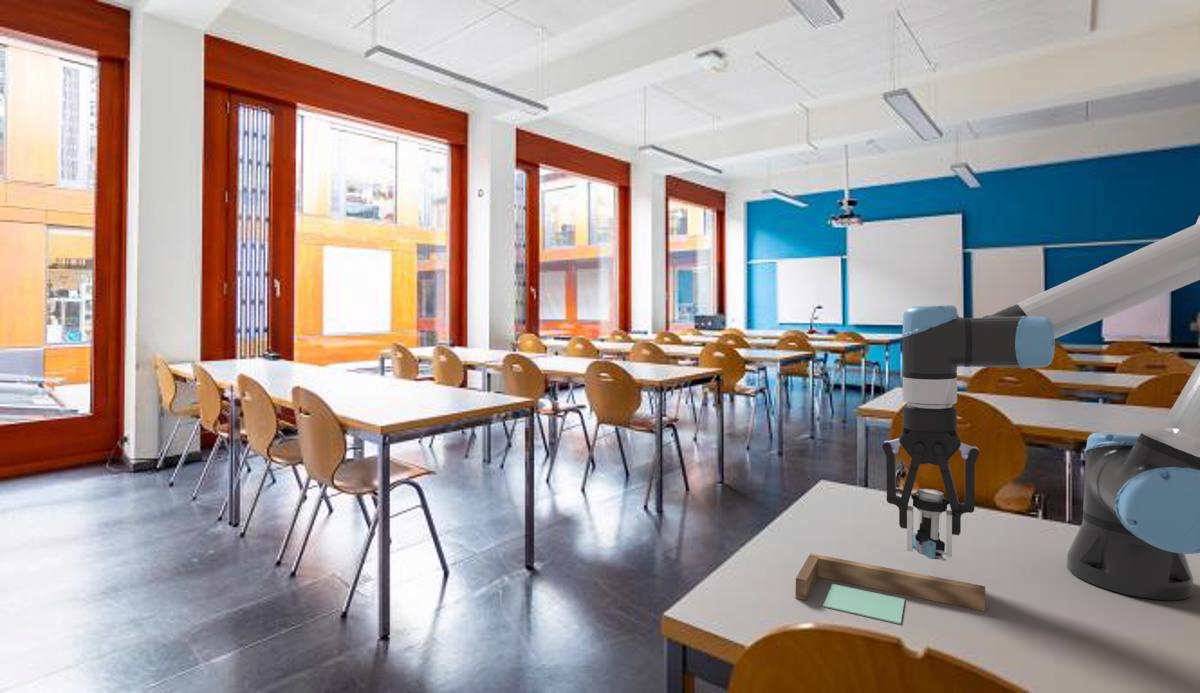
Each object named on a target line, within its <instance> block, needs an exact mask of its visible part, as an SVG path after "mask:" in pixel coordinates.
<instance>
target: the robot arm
mask: <svg viewBox="0 0 1200 693" xmlns="http://www.w3.org/2000/svg"><path fill="white" fill-rule="evenodd" d="M1197 281H1200V215H1198V218H1197V219H1196V223H1195V224H1193V225H1191V226H1189V227H1187V228H1184V229H1182V230H1180V231H1177V232H1176V233H1174V234H1171V235H1169V236H1166V237H1164V238H1161V239H1159V240H1157V241H1155V242H1153V243H1151V244H1148V245H1146V246H1144V247H1141V248H1139V249H1138V250H1135V251H1132V252H1130V253H1128V254H1126V255H1124V256H1121V257H1118V258H1116V259H1114V260H1113V261H1110V262H1107V263H1106V264H1103V265H1101V266H1099V267H1097V268H1094V269H1092V270H1090V271H1087V272H1085V273H1083V274H1080V275H1078V276H1076V277H1074V278H1072V279H1069V280H1067V281H1065V282H1063V283H1062V282H1061V283H1060V284H1058V285H1056V286H1054V287H1051V288H1049V289H1047V290H1044V291H1042V292H1040V293H1038V294H1036V295H1033V296H1031V297H1028V298H1026V299H1024V300H1022V301H1020V302H1018V303H1015V304H1013V305H1011V306H1009V307H1007V308H1004V309H1001V310H1000V311H997V312H995V313H992V314H990V315H988V314H987V315H985V316H983V317H962V316H960V317H959V313H958V308H957V307H956V306H955V305H917V306H910V307H908V308H907V309H906V310H905V311H904V312H903V316H902V317H903V319H902V334H901V335H902V336H901V338H902V342H901V343H902V401H903V402H904V403H906V404H904V405H903V406H902V432H901V434H900V435H899V437H898V438H895V439H892V440H889V439H885V440H884V441H883V443H882V449H883V451H884V454H885V457H886V459H885V460H886V503H888V504H890V505H894V506H896V507H897V508H898V512H899V513H898V519H899V520H898V521H899V523H898V524H899V527H900V529H906V546H907V547H906V551H907V552H911V553H912V552H913V551H914V548H913V542H914V506H913V505H912V506H911V505H909V502H910V499H911V495H912V492H913V488H914V485H915V481H916V477H917V474H918V470H919V467H920V465H928V464H930V465H933V466H938V468H939V472H940V474H941V477H942V481H943V485H944V489H945V492H946V496H947V497H946V498H947V499H948V500H949V504H948V505H949V506H950V507H949V508H950V510H948V509H947V510H946V511H945V513H946V515H945V518H946V519H945V520H946V521H945V522H946V523H945V524H946V525H945V527H946V529H945V530H946V532H945V533H946V534H945V536H946V537H945V539H946V540H945V541H946V542H945V547H946V548H945V550H946V552H945V553H946V554H947V555H945V557H946V558H947V557H948V558H952V557H953V536H960V534H961V532H962V531H961V528H962V526H961V524H962V523H961V521H962V520H961V517H962V515H963V514H967V513H971V514H972V513H974V512H975V474H976V473H975V464H976V462H977V460H978V458H979V456H980V450H979V447H978V446H976V445H969V444H967V443H963V442H962V440H961V439H960V438H959V436H958V409H957V408H956V406H955V404H956V403H957V402H958V373H957V371H958V367H960V368H962V367H964V368H970V367H974V368H976V367H977V368H978V367H979V368H981V367H982V368H1012V369H1013V368H1019V369H1022V370H1026V369H1030V368H1045V367H1048V366H1050V365H1051V364H1052V362H1053V360H1054V356H1055V348H1056V346H1055V345H1056V339H1058V338H1060V337H1062V336H1065V335H1067V334H1070V333H1071V332H1075V331H1077V330H1079V329H1080V330H1081V329H1083V328H1084V327H1086V326H1089V325H1092V324H1094V323H1097V322H1099V321H1102V320H1105V319H1107V318H1110V317H1112V316H1113V315H1116V314H1120V313H1121V312H1123V311H1126V310H1128V309H1132V308H1134V307H1137V306H1139V305H1141V304H1144V303H1146V302H1148V301H1151V300H1152V299H1153V300H1154V299H1155V298H1159V297H1162V296H1164V295H1166V294H1168V293H1170V292H1174V291H1176V290H1178V289H1180V288H1183V287H1185V286H1188V285H1191V284H1193V283H1195V282H1197ZM900 446H902V447H903V449H904V450H905V452H906V453H907V454H908V456H909V457H910V458H911V460H910V464H909V466H908V467H909V468H908V470H907V475H906V479H905V481H904V484H903V485H904V486H903V489H902V492H901V496H900V495H897V455H896V454H898V453H899V451H900V448H899V447H900ZM958 450H959V451H960V452H961V453H960V454H961V457H962V459H964V502H960V501H959V500H960V499H959V497H958V494H957V493H958V492H957V490H956V486H955V483H954V480H953V479H954V478H953V475H952V472H951V467H950V464H949V460H950V459H951V458H952V457H953V456H954V454H956V452H958ZM1084 454H1085V465H1084V468H1085V469H1084V487H1083V505H1082V506H1083V508H1082V509H1083V510H1082V511H1083V513H1082V523H1081V526H1080V527H1079V530H1078V531H1077V533H1076V535H1075V538H1074V539H1073V540H1072V543H1071V545H1070V547H1069V549H1068V551H1067V556H1066V557H1067V558H1066V569H1067V570H1068V571H1069V572H1070V573H1071V574H1072V575H1074V576H1076V577H1077V578H1079V579H1081V580H1082V581H1084V582H1087V583H1089V584H1091V585H1094V586H1097V587H1099V588H1101V589H1105V590H1108V591H1112V592H1116V593H1119V594H1123V595H1126V596H1133V597H1137V598H1144V599H1150V600H1161V601H1180V600H1181V601H1182V600H1185V599H1188V598H1189V599H1190V598H1191V597H1192V596H1193V593H1194V576H1193V574H1192V571H1191V568H1190V566H1189V563H1188V560H1187V557H1186V555H1191V554H1192V555H1194V554H1200V360H1199V362H1198V363H1197V365H1196V367H1195V368H1194V370H1193V372H1192V374H1191V376H1189V379H1188V380H1187V382H1186V383H1185V386H1184V387H1183V389H1182V390H1181V392H1180V394H1179V396H1178V397H1177V399H1176V401H1175V402H1174V404H1173V406H1172V407H1171V410H1170V411H1169V413H1168V414H1167V416H1166V417H1165V419H1164V422H1163V423H1162V424H1161V425H1158V426H1156V427H1151V428H1148V429H1145V430H1144V429H1143V430H1141V433H1140V434H1129V433H1116V432H1115V433H1113V432H1094V433H1091V434H1090V435H1089V436H1088V437H1087V440H1086V447H1085V449H1084Z"/></svg>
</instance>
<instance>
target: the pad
mask: <svg viewBox="0 0 1200 693" xmlns="http://www.w3.org/2000/svg"><path fill="white" fill-rule="evenodd" d="M905 602H906V600H905V598H902V597H898V596H892V595H888V594H887V595H886V594H883V593H879V592H878V593H877V592H872V591H869V590H863V589H858V588H854V587H849V586H845V585H839V584H835V583H832V584H831V587H830V589H829V591H828V593H827V596H826V598H825V600H824V602H823V604H822V607H823V608H828V609H833V610H835V611H840V612H844V613H849V614H852V615H853V614H854V615H857V616H862V617H866V618H871V619H876V620H881V621H885V622H889V623H893V624H898V625H901V624H902V618H903V614H904V607H905Z"/></svg>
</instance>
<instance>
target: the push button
mask: <svg viewBox="0 0 1200 693" xmlns="http://www.w3.org/2000/svg"><path fill="white" fill-rule="evenodd" d="M910 499H911V500H912V506H913V508H916V510H918V511H919V516H918V517H919V519H918V529H917V532H913V550H915V551H916V553H918V554H920V555H921V554H922V555H923V556H925V557H927V558H928V559H930V560H941V561H944V562H946V561H948V560H947V559H946V558H944V557H943V556H946V555H947V554H946V552H945V550H946V548H945V547H946V542H945V541H942V540H941V539H940V531H939V528H940V527H939V526H940V515H941V514H942V513H946V510H948V505H950V504H949V500H948V497H944V492H942V491H939V490H937V489H930V488H919V489H918V490H917V493H913V494H912V493H911V496H910Z"/></svg>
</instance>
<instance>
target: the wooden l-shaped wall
mask: <svg viewBox="0 0 1200 693" xmlns="http://www.w3.org/2000/svg"><path fill="white" fill-rule="evenodd" d="M818 578H821V579H827V580H832V581H836V582H837V581H838V582H840V583H841V582H842V583H845V584H846V583H847V584H849V585H850V584H851V585H855V586H861V587H866V588H871V589H875V590H880V591H884V592H885V591H886V592H890V593H893V594H901V595H905V596H908V597H909V596H910V597H914V598H919V599H925V600H930V601H934V602H940V603H943V604H947V605H948V604H949V605H954V606H958V607H964V608H967V609H972V610H978V611H983V612H985V611H986V586H985V585H980V584H975V583H970V582H965V581H960V580H954V579H949V578H944V577H938V576H934V575H933V576H932V575H927V574H922V573H917V572H913V571H912V572H911V571H907V570H901V569H897V568H896V569H895V568H891V567H885V566H881V565H880V566H879V565H875V564H869V563H864V562H859V561H853V560H848V559H843V558H839V557H833V556H826V555H821V554H816V553H810V554H809V555H808V556H807V558H806V560H805V562H804V563H803V565H802V567H801V569H800V570H799V572H798V574H797V575H796V577H795V596H794V597H795V599H798V600H803V601H807V599H808V597H809V595H810V593H811V592H812V589H813V587H814V585H815V583H816V582H817V580H818Z"/></svg>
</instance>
